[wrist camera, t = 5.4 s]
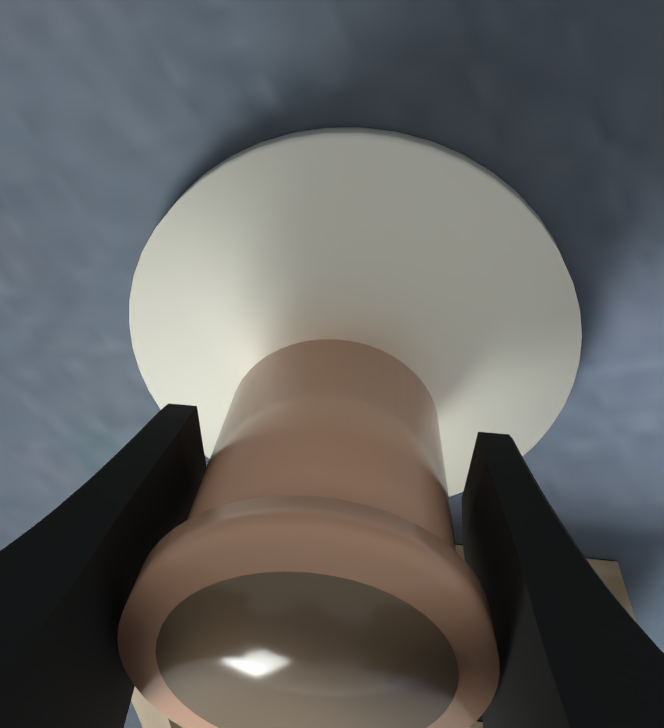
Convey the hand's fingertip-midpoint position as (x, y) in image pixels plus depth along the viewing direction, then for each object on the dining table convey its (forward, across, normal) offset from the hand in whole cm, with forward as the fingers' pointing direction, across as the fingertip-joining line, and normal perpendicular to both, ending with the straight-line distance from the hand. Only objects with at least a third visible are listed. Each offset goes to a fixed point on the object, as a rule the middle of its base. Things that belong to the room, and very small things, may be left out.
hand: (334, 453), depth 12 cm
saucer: (+4, 0, 0) cm, 4 cm away
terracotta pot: (+2, 0, +1) cm, 2 cm away
